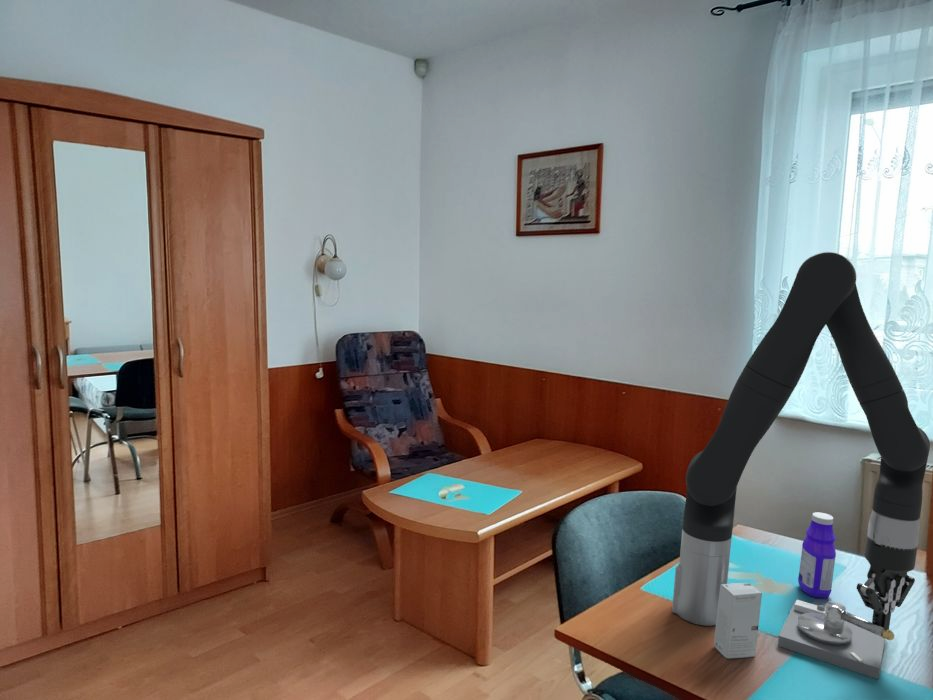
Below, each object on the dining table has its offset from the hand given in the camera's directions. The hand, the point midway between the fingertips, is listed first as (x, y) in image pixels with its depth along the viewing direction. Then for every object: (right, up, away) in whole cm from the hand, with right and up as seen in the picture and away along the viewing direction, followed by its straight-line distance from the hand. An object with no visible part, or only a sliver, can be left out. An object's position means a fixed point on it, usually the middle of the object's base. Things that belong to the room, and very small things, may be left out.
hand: (879, 629), depth 120 cm
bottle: (+2, -3, +26) cm, 26 cm away
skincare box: (-25, -5, +2) cm, 26 cm away
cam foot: (-5, -3, +3) cm, 7 cm away
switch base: (-5, -5, +7) cm, 10 cm away
